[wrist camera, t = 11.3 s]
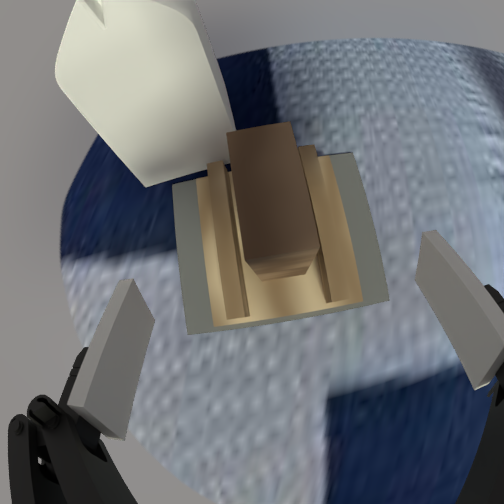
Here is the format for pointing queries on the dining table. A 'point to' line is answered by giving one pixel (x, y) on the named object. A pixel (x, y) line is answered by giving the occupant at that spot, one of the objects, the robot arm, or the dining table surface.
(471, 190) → the dining table surface
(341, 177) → the mat
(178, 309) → the dining table surface
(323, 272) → the rack
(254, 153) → the brown wooden block
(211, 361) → the dining table surface
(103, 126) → the milk
